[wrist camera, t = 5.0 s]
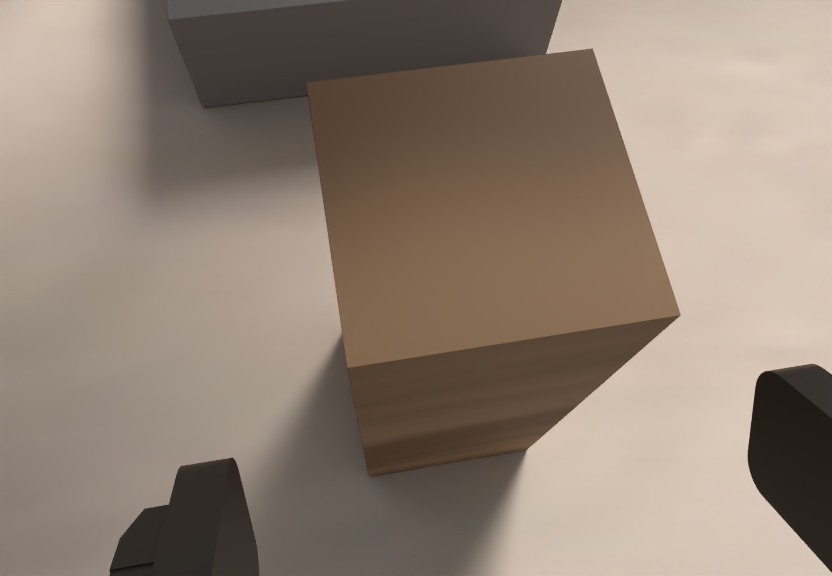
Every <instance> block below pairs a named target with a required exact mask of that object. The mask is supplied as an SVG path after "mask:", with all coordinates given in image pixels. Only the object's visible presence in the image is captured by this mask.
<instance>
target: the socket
mask: <svg viewBox="0 0 832 576" xmlns="http://www.w3.org/2000/svg"><path fill="white" fill-rule="evenodd" d="M561 3H562V0H167V14H168V21H169V24H170V26H171V29H172V31H173V34H174V36H175V39H176V41H177V44H178V46H179V49H180V51H181V54H182V56H183V59H184V61H185V64H186V66H187V69H188V71H189V74H190V76H191V79H192V81H193V84H194V86H195V89H196V91H197V94H198V96H199V99H200V101H201V104H202V106H203V108H206V107H214V106H223V105H231V104H239V103H248V102H256V101H265V100H273V99H281V98H290V97H298V96H306V95H308V90H307V83H306V82H315V81H323V80H332V79H340V78H349V77H357V76H366V75H374V74H383V73H391V72H400V71H408V70H416V69H425V68H433V67H442V66H450V65H459V64H467V63H476V62H484V61H493V60H501V59H510V58H518V57H527V56H535V55H544V54H546V52H547V48H548V45H549V42H550V39H551V35H552V32H553V29H554V26H555V22H556V19H557V16H558V12H559V9H560V6H561Z"/></svg>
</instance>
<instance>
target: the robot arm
mask: <svg viewBox="0 0 832 576" xmlns="http://www.w3.org/2000/svg"><path fill="white" fill-rule="evenodd" d="M748 465H749V469H750V473H751V476H752V479H753V481H754V483H755V485H756V487H757V489H758V490H759V492H760V493H761V494H762V496H763V497H764V498H765V499H766V500H767V501H768V502H769V504H770V505H771V506H772V507H773V508H774V509H775V510H776V511H777V512H778V514H779V515H780V516H781V517H782V518H783V519H784V520H785V521H786V522H787V523H788V525H789V526H790V527H791V528H792V529H793V530H794V531H795V532H796V533H797V535H798V536H799V537H800V538H801V539H802V540H803V541H804V542H805V543H806V544H807V546H808V547H809V548H810V549H811V550H812V551H813V552H814V553H815V554H816V556H817V557H818V558H819V559H820V560H821V561H822V562H823V563H824V564H825V566H826V567H827V568H828V569H829V570H830V571H831V572H832V374H830V373H829V372H827V371H826V370H825V369H823V368H822V367H820V366H818V365H815V364H808V365H802V366H796V367H790V368H784V369H777V370H771V371H765V372H763V373H762V374H761V375H760V376H759V377H758V379H757V382H756V387H755V395H754V404H753V412H752V421H751V429H750V438H749V446H748ZM110 576H259V564H258V554H257V546H256V541H255V536H254V532H253V528H252V524H251V519H250V515H249V511H248V507H247V503H246V499H245V495H244V490H243V486H242V482H241V478H240V474H239V470H238V466H237V463H236V461H235V460H234V458H228V459H222V460H216V461H209V462H203V463H197V464H191V465H185V466H181V467H180V468H179V469H178V472H177V475H176V479H175V483H174V487H173V491H172V495H171V498H170V502H169V505H164V506H159V507H153V508H147V509H144V510H143V511H142V512H141V514H140V515H139V516H138V517H137V518H136V520H135V521H134V522H133V523H132V524H131V526H130V527H129V528H128V529H127V531H126V532H125V533H124V534H123V535H122V537H121V538H120V540H119V543H118V546H117V549H116V552H115V555H114V558H113V561H112V564H111V567H110Z"/></svg>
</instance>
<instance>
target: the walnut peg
mask: <svg viewBox="0 0 832 576" xmlns="http://www.w3.org/2000/svg"><path fill="white" fill-rule="evenodd" d="M306 83H307V90H308V97H309V104H310V111H311V118H312V125H313V132H314V139H315V146H316V153H317V160H318V167H319V174H320V181H321V188H322V195H323V202H324V209H325V216H326V223H327V230H328V237H329V244H330V251H331V258H332V265H333V272H334V279H335V286H336V293H337V300H338V307H339V314H340V321H341V328H342V335H343V342H344V349H345V356H346V363H347V369H348V374H349V379H350V384H351V389H352V394H353V399H354V404H355V409H356V414H357V419H358V424H359V429H360V434H361V439H362V444H363V449H364V454H365V459H366V464H367V469H368V474H369V477H372V476H377V475H383V474H389V473H395V472H400V471H406V470H412V469H417V468H423V467H429V466H435V465H440V464H446V463H452V462H458V461H463V460H469V459H475V458H481V457H486V456H492V455H498V454H504V453H509V452H515V451H521V450H527V449H528V448H529V447H531V446H532V445H533V444H534V443H535V442H536V441H537V440H539V439H540V438H541V437H542V436H543V435H544V434H545V433H547V432H548V431H549V430H550V429H551V428H552V427H553V426H555V425H556V424H557V423H558V422H559V421H560V420H561V419H563V418H564V417H565V416H566V415H567V414H568V413H569V412H571V411H572V410H573V409H574V408H575V407H576V406H577V405H579V404H580V403H581V402H582V401H583V400H584V399H585V398H587V397H588V396H589V395H590V394H591V393H592V392H593V391H595V390H596V389H597V388H598V387H599V386H600V385H601V384H603V383H604V382H605V381H606V380H607V379H608V378H609V377H611V376H612V375H613V374H614V373H615V372H616V371H617V370H619V369H620V368H621V367H622V366H623V365H624V364H625V363H627V362H628V361H629V360H630V359H631V358H632V357H633V356H635V355H636V354H637V353H638V352H639V351H640V350H641V349H643V348H644V347H645V346H646V345H647V344H648V343H649V342H651V341H652V340H653V339H654V338H655V337H656V336H657V335H659V334H660V333H661V332H662V331H663V330H664V329H665V328H667V327H668V326H669V325H670V324H671V323H672V322H673V321H675V320H676V319H677V318H678V317H679V316H680V312H679V309H678V306H677V303H676V299H675V296H674V293H673V290H672V287H671V284H670V281H669V278H668V275H667V272H666V269H665V266H664V263H663V260H662V257H661V254H660V251H659V248H658V245H657V242H656V239H655V236H654V233H653V230H652V227H651V224H650V221H649V218H648V215H647V212H646V209H645V206H644V203H643V200H642V197H641V194H640V191H639V188H638V185H637V182H636V179H635V175H634V172H633V169H632V166H631V163H630V160H629V157H628V154H627V151H626V148H625V145H624V142H623V139H622V136H621V133H620V130H619V127H618V124H617V121H616V118H615V115H614V112H613V109H612V106H611V103H610V100H609V97H608V94H607V91H606V88H605V85H604V82H603V79H602V76H601V73H600V70H599V67H598V64H597V61H596V58H595V55H594V51H593V49H586V50H578V51H569V52H561V53H552V54H544V55H535V56H527V57H518V58H510V59H501V60H493V61H484V62H476V63H467V64H459V65H450V66H442V67H433V68H425V69H416V70H408V71H400V72H391V73H383V74H374V75H366V76H357V77H349V78H340V79H332V80H323V81H315V82H306Z"/></svg>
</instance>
